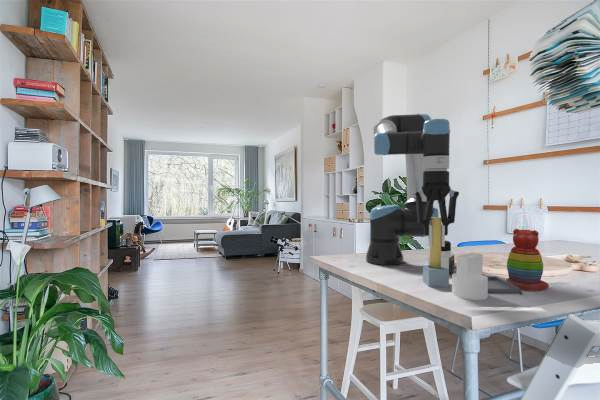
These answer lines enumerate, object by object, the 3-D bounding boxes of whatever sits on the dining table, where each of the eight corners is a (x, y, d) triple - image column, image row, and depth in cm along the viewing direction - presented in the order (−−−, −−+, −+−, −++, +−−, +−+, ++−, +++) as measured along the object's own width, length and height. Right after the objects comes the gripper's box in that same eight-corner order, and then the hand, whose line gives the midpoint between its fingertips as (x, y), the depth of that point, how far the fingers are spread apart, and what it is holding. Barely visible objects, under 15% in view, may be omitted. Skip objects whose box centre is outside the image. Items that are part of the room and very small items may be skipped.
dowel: (428, 267, 110) (428, 217, 109) (438, 267, 110) (439, 217, 109) (431, 270, 107) (432, 218, 106) (442, 270, 106) (442, 218, 106)
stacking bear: (550, 287, 106) (551, 229, 105) (541, 294, 99) (542, 232, 98) (510, 280, 114) (511, 226, 113) (499, 286, 107) (500, 229, 106)
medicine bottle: (449, 277, 118) (449, 242, 117) (427, 274, 122) (428, 241, 121) (454, 273, 123) (454, 240, 123) (433, 270, 127) (434, 238, 127)
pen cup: (422, 283, 111) (422, 265, 111) (441, 283, 111) (441, 265, 110) (428, 289, 105) (428, 269, 105) (448, 289, 105) (449, 269, 105)
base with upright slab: (462, 290, 103) (462, 250, 103) (493, 298, 96) (494, 255, 96) (445, 296, 98) (445, 254, 97) (477, 305, 91) (478, 259, 90)
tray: (464, 281, 112) (464, 275, 112) (496, 282, 112) (496, 276, 112) (485, 295, 98) (485, 288, 98) (521, 295, 98) (521, 288, 98)
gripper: (412, 170, 103) (412, 248, 104) (468, 169, 102) (467, 248, 104) (406, 171, 111) (406, 243, 112) (458, 170, 110) (457, 243, 111)
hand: (435, 245), depth 108 cm, fingers closed on dowel, 3 cm apart
